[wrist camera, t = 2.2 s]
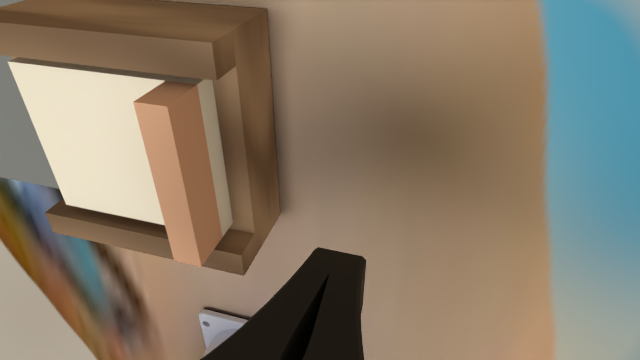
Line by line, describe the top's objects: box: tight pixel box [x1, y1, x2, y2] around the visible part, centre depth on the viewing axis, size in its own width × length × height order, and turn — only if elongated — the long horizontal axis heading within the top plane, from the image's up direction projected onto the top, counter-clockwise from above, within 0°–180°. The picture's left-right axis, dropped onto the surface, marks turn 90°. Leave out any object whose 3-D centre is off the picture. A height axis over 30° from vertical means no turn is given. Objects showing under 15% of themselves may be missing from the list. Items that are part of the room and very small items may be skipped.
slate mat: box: [0, 0, 60, 189], centre depth 23 cm, size 12×10×1 cm
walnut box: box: [0, 0, 280, 276], centre depth 19 cm, size 10×10×4 cm
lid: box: [8, 57, 233, 267], centre depth 17 cm, size 7×8×3 cm
